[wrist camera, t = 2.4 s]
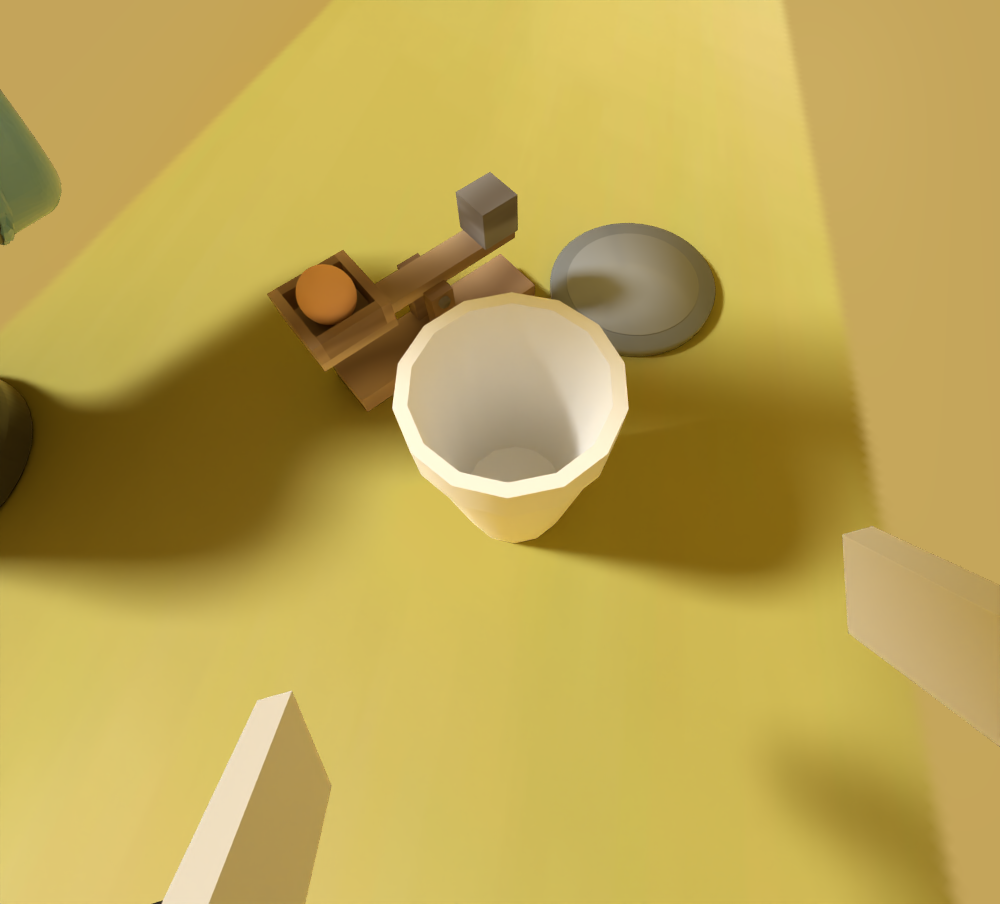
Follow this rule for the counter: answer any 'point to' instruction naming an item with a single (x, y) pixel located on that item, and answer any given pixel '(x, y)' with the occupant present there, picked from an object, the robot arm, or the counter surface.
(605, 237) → the coaster
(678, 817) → the counter surface
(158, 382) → the counter surface
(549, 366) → the foam cup
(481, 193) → the catapult
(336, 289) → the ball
